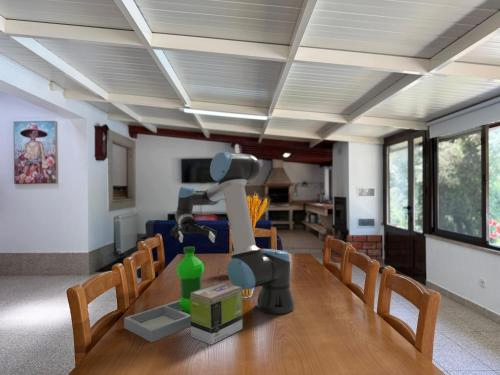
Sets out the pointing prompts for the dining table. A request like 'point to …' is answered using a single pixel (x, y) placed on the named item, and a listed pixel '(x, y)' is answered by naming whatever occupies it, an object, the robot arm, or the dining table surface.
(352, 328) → the dining table surface
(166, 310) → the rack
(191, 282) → the plastic bottle
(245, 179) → the robot arm
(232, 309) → the tea box
